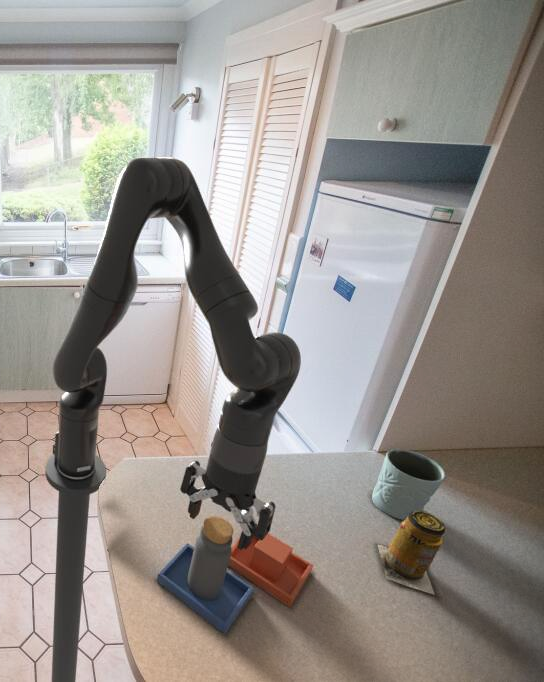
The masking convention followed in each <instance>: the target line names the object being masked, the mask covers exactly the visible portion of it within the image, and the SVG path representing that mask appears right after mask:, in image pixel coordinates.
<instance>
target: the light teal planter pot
mask: <svg viewBox="0 0 544 682" xmlns="http://www.w3.org/2000/svg"><path fill="white" fill-rule="evenodd" d="M377 478H378V479H377V481H376V484H375V487H374V489H373V491H372V495H371V500H372V502H373V504H374V505H375V506H376V508H378V509H379V510H380V511H382V512H383V513H384V514H387V515H388V516H390V517H393V518H396V519H398V520H402V521H404V520H406V518H407V517H408V515H409V513H411V512H412V511H416V510H417V511H420V510H421V511H424V509H425V506H426V505H427V504H428V503H429V502H430V500H431V497H433V496H434V494H435V493H437V490H438V489H439V488H440V486H441V485H442V484H443V482H444V480H445V479H446V472H445V470H444V469H443V468H442V466H441V465H440V464H439V463H437V462H436V461H435V460H433V459H432V458H429V457H428V456H426V455H424V454H421V453H419V452H416V451H413V450H409V449H402V448H394V449H391V450H388V451H387V452H386V454H385V457H384V460H383V463H382V467H381V470H380V472H379V476H378V477H377Z"/></svg>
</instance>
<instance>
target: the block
mask: <svg viewBox="0 0 544 682" xmlns="http://www.w3.org/2000/svg"><path fill="white" fill-rule="evenodd" d="M293 548H294V547H292V546H290V545H289V544H287V543H285V542H283V541H281V540H280V539H278V538H276V537H275V536H273V535H272V534H270V533H268V534H267V535H266V537H265V538H264V539H263V540H259V541H258V543H257V544H256V545H255V547H254V550H253V553H252V557H251V560H250V563H249V565H250V566H251V567H253V568H254V569H256V570H258V571H259V572H261V573H262V574H264V575H265V576H267V577H268V578H270V579H271V580H273V581H274V582H276V581H277V580H278V578H279V577H280V575H281V574H282V572H283V571H284V569H285V568H286V566H287V563H288V561H289V558H290V555H291V552H292V553H293Z"/></svg>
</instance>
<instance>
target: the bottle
mask: <svg viewBox="0 0 544 682" xmlns="http://www.w3.org/2000/svg"><path fill="white" fill-rule="evenodd" d="M233 535H234V527H233V525H232V524H231V523H230V522H229V521H228V520H226V519H225V518H223V517H220V516H218V515H211V516H207V517H206V518H205V519H204V520H203V525H202V526H201V528H200V532H199V534H198V535H197V537H196V539H195V544H194V546H193V547H194V551H193V556H192V560H191V565H190V569H189V574H188V579H187V583H188V587H189V589H190V590H191V592H192V593H193V594H194V595H196V596H197V597H199V598H201V599H203V600H209V601H210V600H215V599H216V598H218V597H219V595H220V593H221V590H222V586H223V583H224V579H225V576H226V572H227V570H228V568H229V566H228V565H229V561H230V557H231V553H232V549H231V548H232V544H233Z"/></svg>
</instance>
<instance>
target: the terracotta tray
mask: <svg viewBox="0 0 544 682" xmlns="http://www.w3.org/2000/svg"><path fill="white" fill-rule="evenodd" d="M239 539H240V537H239V538H238V539H237V541H236V542H235V543H234V544H233V545H232V546H231V549H232V553H231V557H230V561H229V565H228V567H229V568H231V569H233V570H234V571H236V572H237V573H238V574H240V575H242V576H243V577H245V578H246V579H247V580H249V581H250V582H252V583H254V584H255V585H256V586H258V587H259V588H260V589H263V590H264V591H265V592H267V593H268V594H270V595H271V596H273V597H274V598H275V599H277V600H278V601H280V602H282V603H283V604H285V605H286V606H288V607H289V608H291V606H292V604H293V603H294V602H295V599H296V598H297V596H298V595H299V593H300V591H301V589H302V588H303V586H304V585H305V583H306V581H307V579H308V578H309V576H310V574H311V572H312V570H313V568H314V564H313V563H310V562H309V561H307V560H306V559H304V558H302V557H301V556H299V555H297V554H295V553H294V552H293V551H292V552H291V555H290V558H289V561H288V563H287V566H286V568H285V569H284V571H283V572H282V574H281V575H280V577H279V578H278V580H277V581H276V582H274V581H273V580H271V579H270V578H268V577H267V576H265V575H264V574H262V573H261V572H259V571H258V570H256V569H254V568H253V567H251V566H250V565H249V563H250V560H251V557H252V553H253V550H254V547H255V545H256V544H257V543H258V541H259V539H257V538H256V536H254V537H253V540H252V543H251V544H250V546H249V547H248V548H247V549H244V548H243V549H242V550H240V549H239V548H237V546H238V542H239Z"/></svg>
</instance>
